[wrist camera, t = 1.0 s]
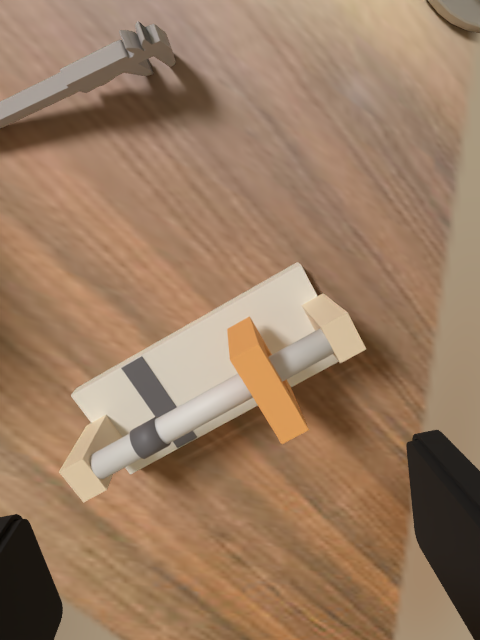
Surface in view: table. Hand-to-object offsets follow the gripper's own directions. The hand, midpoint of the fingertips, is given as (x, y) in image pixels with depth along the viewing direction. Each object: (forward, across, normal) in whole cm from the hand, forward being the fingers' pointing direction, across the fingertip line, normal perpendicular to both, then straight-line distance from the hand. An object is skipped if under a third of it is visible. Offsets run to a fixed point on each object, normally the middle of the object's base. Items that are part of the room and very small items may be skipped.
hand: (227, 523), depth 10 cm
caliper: (+26, +10, -17) cm, 33 cm away
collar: (+22, -2, +5) cm, 23 cm away
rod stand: (+26, +2, +6) cm, 27 cm away
